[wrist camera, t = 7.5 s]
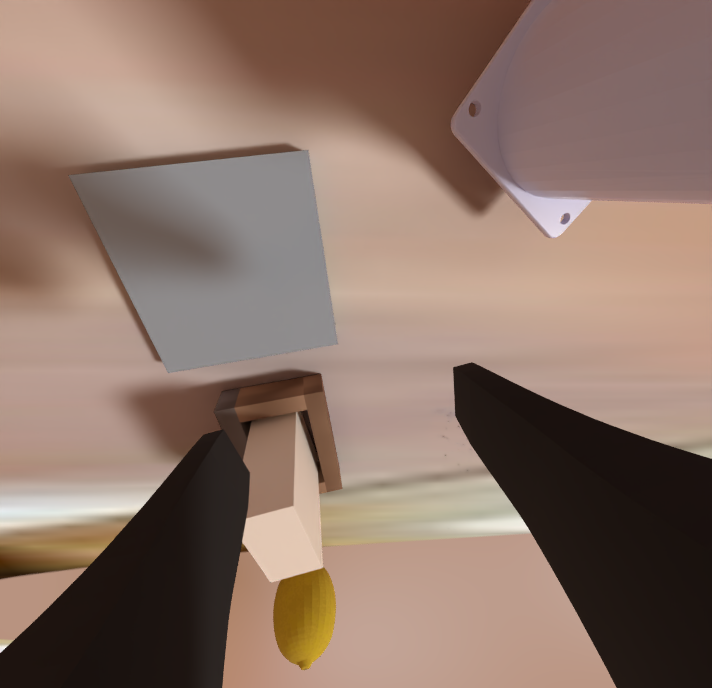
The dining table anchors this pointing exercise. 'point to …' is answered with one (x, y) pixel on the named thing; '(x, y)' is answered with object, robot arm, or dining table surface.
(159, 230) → the tile
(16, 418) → the dining table surface
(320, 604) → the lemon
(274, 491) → the tan rectangular post
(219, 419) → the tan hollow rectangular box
